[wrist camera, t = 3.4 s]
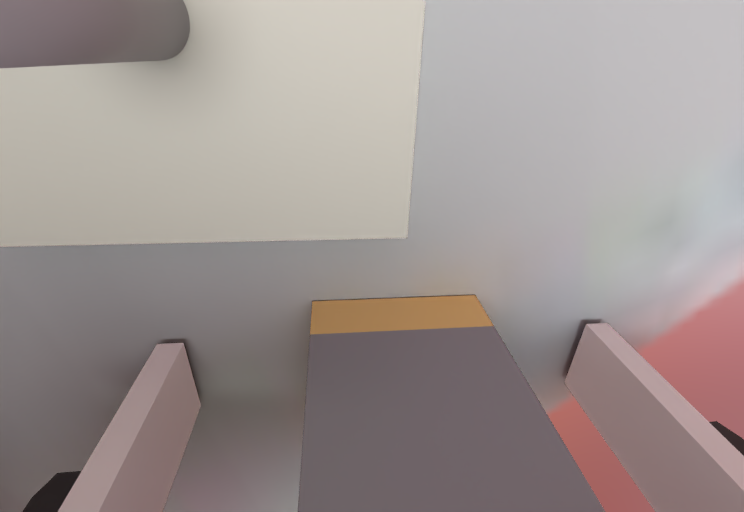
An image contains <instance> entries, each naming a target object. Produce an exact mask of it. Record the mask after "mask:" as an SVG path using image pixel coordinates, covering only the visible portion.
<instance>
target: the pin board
mask: <svg viewBox="0 0 744 512" xmlns="http://www.w3.org/2000/svg"><path fill="white" fill-rule="evenodd" d="M424 12H425V0H0V247H20V246H67V245H113V244H160V243H206V242H252V241H299V240H345V239H391V238H407V235H408V222H409V208H410V195H411V182H412V169H413V156H414V143H415V130H416V117H417V104H418V91H419V77H420V64H421V51H422V38H423V25H424Z"/></svg>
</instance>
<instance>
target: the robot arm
mask: <svg viewBox="0 0 744 512" xmlns="http://www.w3.org/2000/svg"><path fill="white" fill-rule="evenodd" d="M564 383H565V385H566V386H567V388H568V389H569V390H570V392H571V393H572V395H573V396H574V397H575V399H576V400H577V402H578V403H579V405H580V406H581V407H582V409H583V410H584V412H585V413H586V414H587V416H588V417H589V419H590V420H591V421H592V423H593V424H594V426H595V427H596V428H597V430H598V431H599V433H600V434H601V436H602V437H603V438H604V440H605V441H606V443H607V444H608V445H609V447H610V448H611V449H612V451H613V452H614V454H615V455H616V457H617V458H618V460H619V461H620V462H621V464H622V465H623V467H624V468H625V469H626V471H627V472H628V473H629V475H630V476H631V478H632V479H633V481H634V482H635V484H636V485H637V486H638V488H639V489H640V490H641V492H642V493H643V495H644V496H645V498H646V499H647V500H648V502H649V503H650V505H651V506H652V508H654V510H655V512H744V440H743V439H742V438H741V437H739V436H738V435H736V434H735V433H733V432H732V431H730V430H729V429H727V428H726V427H724V426H723V425H721V424H720V423H718V422H717V421H716V422H708V421H707V420H706V419H705V418H704V417H703V416H702V415H701V414H700V413H699V412H698V411H697V410H696V409H695V408H694V407H693V406H692V405H691V404H690V403H689V402H687V400H686V399H685V398H684V397H683V396H682V395H681V394H680V393H679V392H678V391H677V390H676V389H674V388H673V387H672V386H671V385H670V384H669V383H668V382H667V381H666V380H665V379H664V378H663V377H662V376H661V375H660V374H659V373H658V372H657V371H656V370H655V369H654V368H653V367H652V366H651V365H650V364H649V363H648V362H647V361H646V360H645V359H644V358H643V357H642V356H641V355H640V354H639V353H638V352H637V351H636V350H635V349H633V348H632V347H631V346H630V345H629V344H628V343H627V342H626V341H625V340H624V339H623V338H622V337H621V336H620V335H619V334H618V333H617V332H616V331H615V330H614V329H613V328H612V327H611V326H610V325H609V324H608V323H597V324H586V326H585V328H584V331H583V334H582V336H581V339H580V342H579V344H578V347H577V350H576V353H575V355H574V358H573V361H572V363H571V366H570V369H569V371H568V374H567V377H566V379H565V382H564ZM200 407H201V404H200V400H199V397H198V393H197V389H196V386H195V382H194V379H193V375H192V372H191V368H190V364H189V361H188V357H187V354H186V350H185V346H184V343H168V344H157V345H156V346H155V348H154V350H153V351H152V353H151V355H150V356H149V358H148V360H147V362H146V363H145V365H144V367H143V368H142V370H141V372H140V373H139V375H138V377H137V378H136V380H135V382H134V384H133V385H132V387H131V389H130V390H129V392H128V394H127V395H126V397H125V399H124V400H123V402H122V404H121V405H120V407H119V409H118V411H117V412H116V414H115V416H114V417H113V419H112V421H111V422H110V424H109V426H108V427H107V429H106V431H105V433H104V434H103V436H102V438H101V439H100V441H99V443H98V444H97V446H96V448H95V449H94V451H93V453H92V455H91V456H90V458H89V460H88V461H87V463H86V465H85V466H84V468H83V470H82V471H77V472H64V473H57V474H56V475H55V476H54V477H53V478H52V479H51V480H50V481H49V482H48V483H47V484H46V485H45V486H44V487H42V488H41V489H40V490H39V491H38V492H37V493H36V494H35V495H34V496H33V497H32V498H31V500H30V501H29V503H28V504H27V506H26V507H25V509H24V510H23V512H163V509H164V506H165V504H166V501H167V498H168V495H169V493H170V490H171V487H172V484H173V481H174V479H175V476H176V473H177V470H178V468H179V465H180V462H181V459H182V457H183V454H184V451H185V448H186V446H187V443H188V440H189V437H190V435H191V432H192V429H193V426H194V424H195V421H196V418H197V415H198V413H199V410H200Z"/></svg>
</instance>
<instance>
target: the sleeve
mask: <svg viewBox="0 0 744 512" xmlns="http://www.w3.org/2000/svg"><path fill="white" fill-rule="evenodd" d="M298 512H605V511H604V509H603V507H602V505H601V504H600V502H599V500H598V499H597V497H596V495H595V494H594V492H593V490H592V489H591V487H590V485H589V484H588V482H587V480H586V479H585V477H584V475H583V474H582V472H581V470H580V469H579V467H578V465H577V464H576V462H575V460H574V459H573V457H572V455H571V454H570V452H569V450H568V449H567V447H566V446H565V444H564V442H563V440H562V439H561V437H560V435H559V434H558V432H557V430H556V429H555V427H554V425H553V424H552V422H551V421H550V419H549V417H548V415H547V414H546V412H545V410H544V409H543V407H542V405H541V404H540V402H539V400H538V399H537V397H536V395H535V394H534V392H533V390H532V389H531V387H530V385H529V384H528V382H527V381H526V379H525V377H524V376H523V374H522V372H521V371H520V369H519V367H518V366H517V364H516V362H515V361H514V359H513V357H512V356H511V354H510V352H509V351H508V349H507V347H506V346H505V344H504V342H503V341H502V339H501V337H500V336H499V334H498V332H497V331H496V329H495V327H494V326H493V324H492V322H491V321H490V319H489V317H488V316H487V314H486V312H485V311H484V309H483V307H482V306H481V304H480V302H479V301H478V299H477V297H476V296H475V295H465V296H439V297H412V298H385V299H359V300H332V301H312V313H311V328H310V342H309V357H308V372H307V386H306V401H305V415H304V430H303V445H302V459H301V474H300V488H299V503H298Z"/></svg>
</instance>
